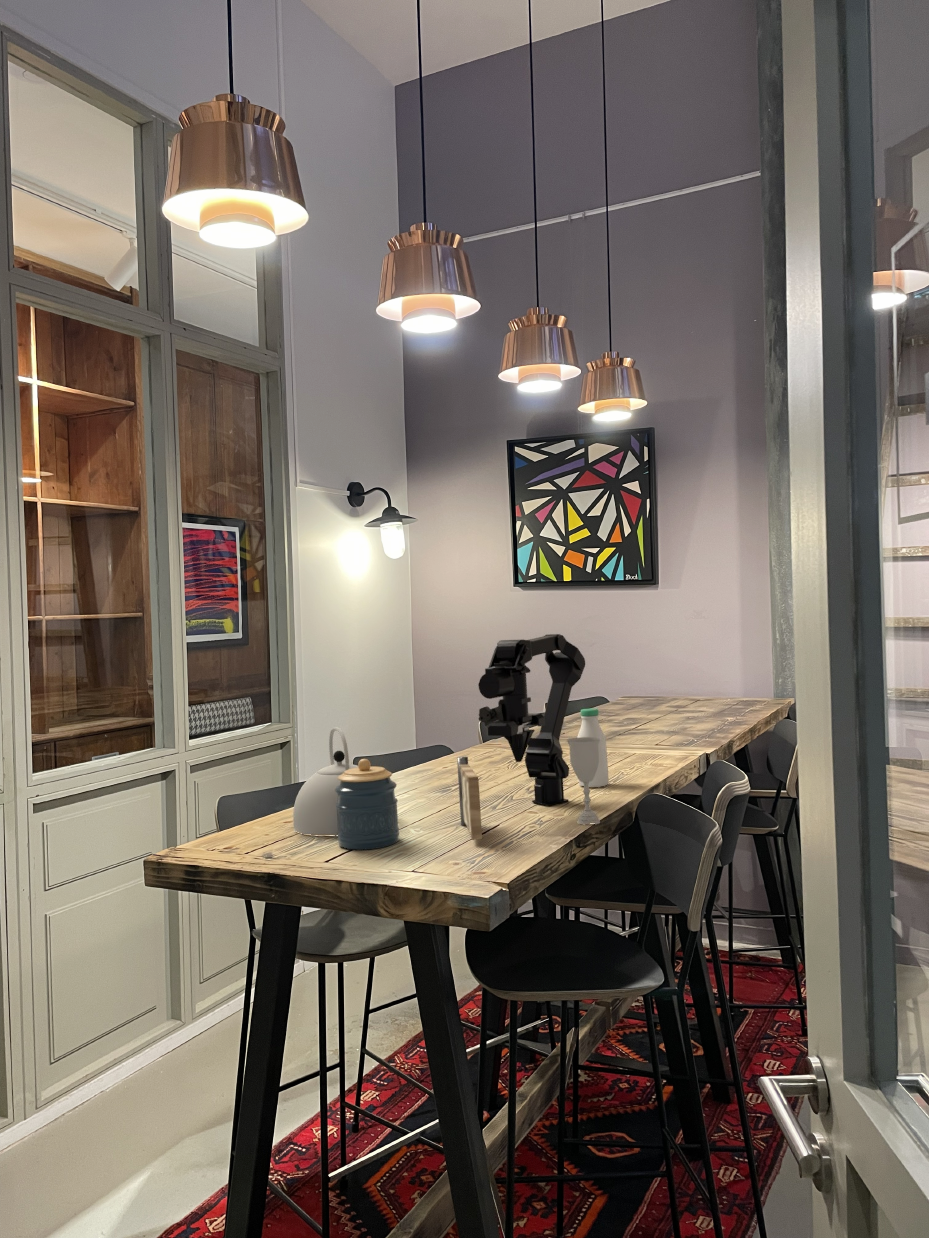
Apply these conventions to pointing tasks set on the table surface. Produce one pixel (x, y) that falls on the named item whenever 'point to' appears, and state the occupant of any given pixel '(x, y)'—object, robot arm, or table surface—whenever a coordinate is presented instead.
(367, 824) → the canister
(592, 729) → the milk bottle
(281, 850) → the table surface
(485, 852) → the table surface
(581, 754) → the chalice
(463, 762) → the hinge post
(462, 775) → the gate
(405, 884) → the table surface
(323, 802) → the kettle
